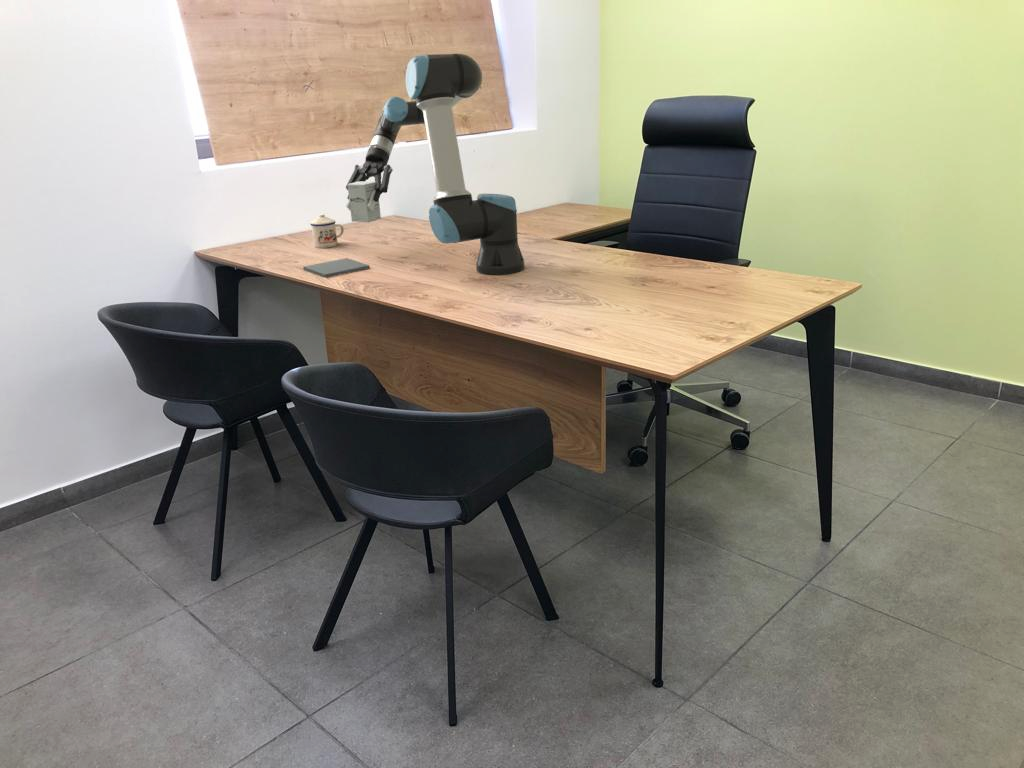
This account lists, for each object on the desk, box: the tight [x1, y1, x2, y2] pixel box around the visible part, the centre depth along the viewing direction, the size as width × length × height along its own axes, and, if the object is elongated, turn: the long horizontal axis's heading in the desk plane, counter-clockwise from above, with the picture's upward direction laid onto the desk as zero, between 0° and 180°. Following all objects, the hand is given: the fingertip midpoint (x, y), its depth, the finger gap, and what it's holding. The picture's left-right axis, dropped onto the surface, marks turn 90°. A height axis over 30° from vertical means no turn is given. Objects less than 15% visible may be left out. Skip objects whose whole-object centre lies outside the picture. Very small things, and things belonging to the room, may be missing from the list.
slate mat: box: [302, 257, 370, 278], centre depth 266 cm, size 16×16×1 cm
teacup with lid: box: [310, 213, 345, 249], centre depth 301 cm, size 12×9×12 cm
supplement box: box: [346, 180, 382, 224], centre depth 272 cm, size 7×7×13 cm
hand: (359, 208), depth 270 cm, fingers closed on supplement box, 8 cm apart
